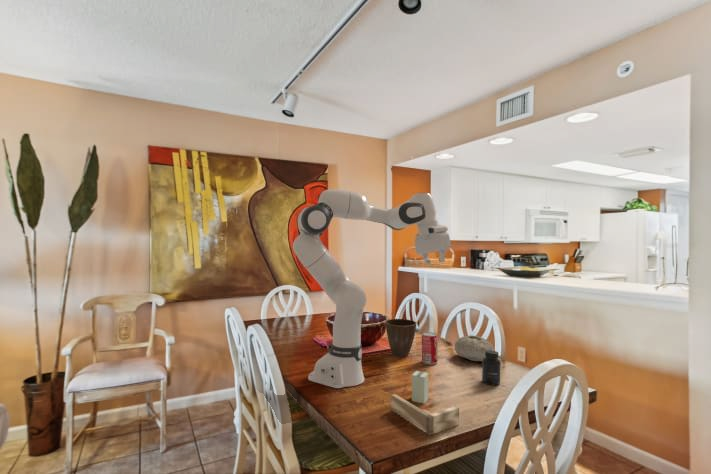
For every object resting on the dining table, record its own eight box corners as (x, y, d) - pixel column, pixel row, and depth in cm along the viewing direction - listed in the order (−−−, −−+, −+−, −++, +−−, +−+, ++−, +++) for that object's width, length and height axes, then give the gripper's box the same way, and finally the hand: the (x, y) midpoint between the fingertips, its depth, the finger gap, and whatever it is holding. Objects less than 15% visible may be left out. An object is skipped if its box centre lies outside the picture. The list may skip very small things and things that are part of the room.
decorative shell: (502, 360, 172) (502, 339, 172) (478, 368, 162) (478, 345, 162) (470, 350, 186) (470, 331, 186) (446, 357, 176) (446, 336, 176)
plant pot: (416, 351, 185) (416, 319, 185) (416, 361, 170) (416, 326, 170) (386, 349, 187) (386, 318, 187) (383, 359, 173) (383, 324, 173)
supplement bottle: (491, 387, 141) (491, 355, 141) (478, 380, 147) (478, 350, 147) (504, 383, 144) (504, 353, 144) (490, 377, 150) (490, 348, 150)
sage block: (416, 396, 132) (416, 370, 132) (428, 398, 130) (428, 372, 130) (411, 400, 128) (411, 374, 129) (424, 403, 126) (424, 376, 126)
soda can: (437, 365, 164) (437, 336, 164) (421, 364, 165) (421, 335, 165) (437, 360, 171) (437, 332, 171) (421, 359, 172) (421, 331, 172)
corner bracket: (419, 401, 128) (419, 387, 128) (459, 424, 112) (459, 407, 112) (391, 410, 121) (391, 395, 121) (429, 435, 106) (429, 417, 106)
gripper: (409, 235, 164) (415, 266, 163) (437, 227, 145) (444, 262, 144) (420, 233, 167) (426, 263, 166) (450, 225, 148) (456, 259, 147)
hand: (435, 263), depth 155 cm, fingers open, 8 cm apart
